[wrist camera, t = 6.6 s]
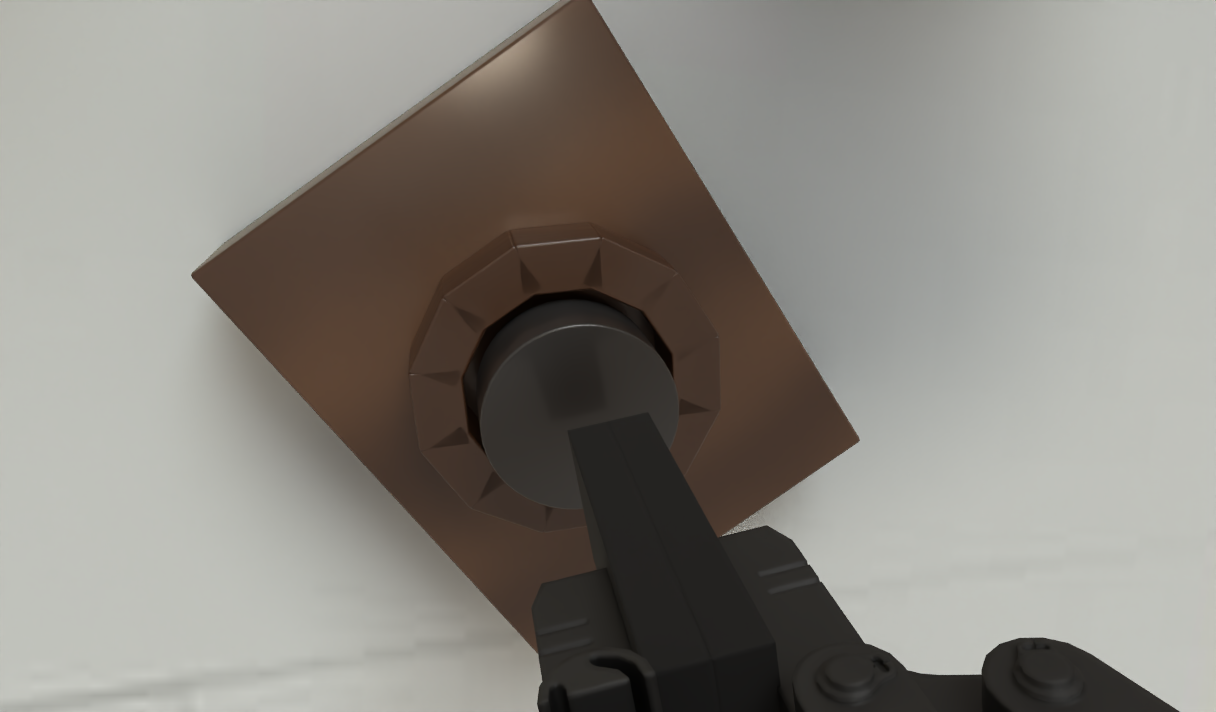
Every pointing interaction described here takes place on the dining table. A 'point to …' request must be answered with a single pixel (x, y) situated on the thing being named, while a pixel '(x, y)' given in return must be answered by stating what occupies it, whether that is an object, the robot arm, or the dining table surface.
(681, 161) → the button box
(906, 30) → the dining table surface
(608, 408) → the button
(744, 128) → the dining table surface
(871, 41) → the dining table surface
